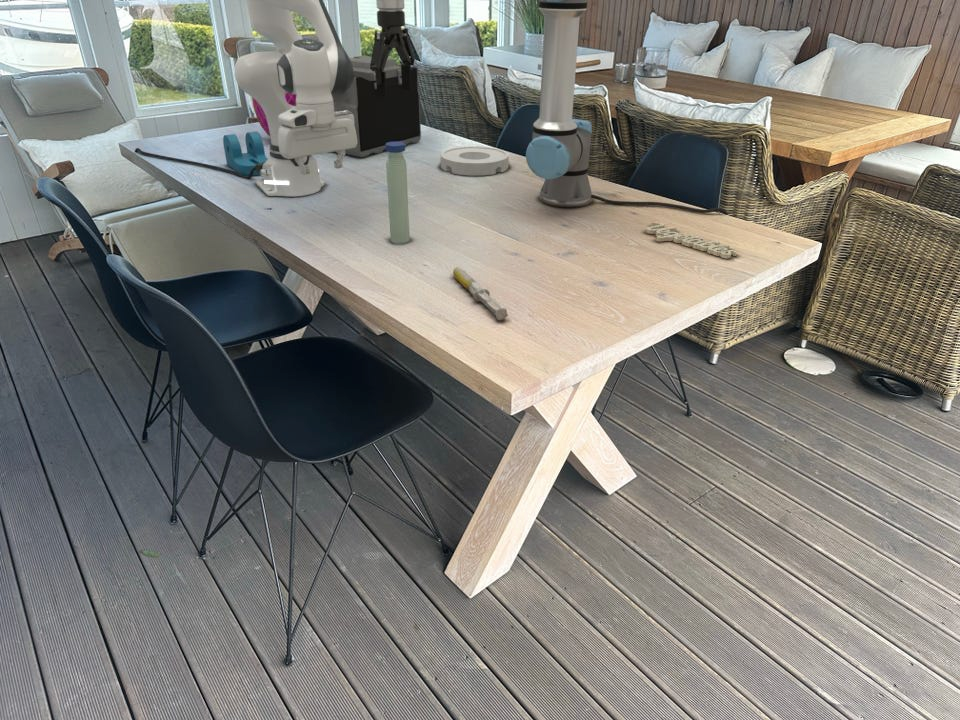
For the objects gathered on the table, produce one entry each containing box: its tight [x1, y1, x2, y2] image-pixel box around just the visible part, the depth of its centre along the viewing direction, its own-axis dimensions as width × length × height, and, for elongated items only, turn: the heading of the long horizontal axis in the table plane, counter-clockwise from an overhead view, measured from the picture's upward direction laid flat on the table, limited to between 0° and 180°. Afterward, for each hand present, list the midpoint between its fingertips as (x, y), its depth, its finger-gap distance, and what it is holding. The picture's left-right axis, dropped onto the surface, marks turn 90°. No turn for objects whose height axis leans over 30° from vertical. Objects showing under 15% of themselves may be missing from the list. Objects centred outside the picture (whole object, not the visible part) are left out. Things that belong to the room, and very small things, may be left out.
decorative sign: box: [645, 221, 738, 259], centre depth 174 cm, size 26×1×10 cm
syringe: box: [452, 266, 509, 321], centre depth 145 cm, size 25×4×3 cm, turn 21°
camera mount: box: [222, 131, 269, 176], centre depth 226 cm, size 18×10×10 cm, turn 35°
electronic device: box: [331, 55, 422, 159], centre depth 250 cm, size 37×22×30 cm, turn 144°
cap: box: [385, 142, 406, 153], centre depth 162 cm, size 5×5×2 cm
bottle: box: [385, 151, 411, 245], centre depth 167 cm, size 5×5×24 cm
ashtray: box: [440, 145, 510, 177], centre depth 233 cm, size 23×23×4 cm
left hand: (322, 170), depth 174 cm, fingers open, 8 cm apart
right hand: (394, 93), depth 197 cm, fingers open, 13 cm apart
